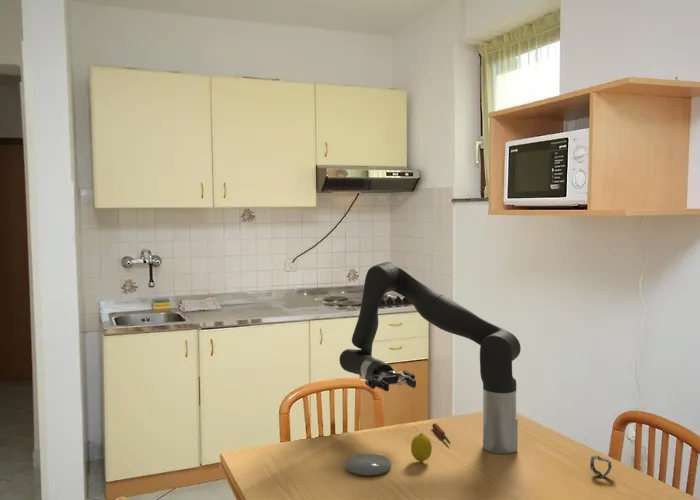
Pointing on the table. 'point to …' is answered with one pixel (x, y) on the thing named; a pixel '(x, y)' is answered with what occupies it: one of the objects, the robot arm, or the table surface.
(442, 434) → the kitchen knife
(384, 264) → the robot arm
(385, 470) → the dish
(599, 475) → the wristwatch
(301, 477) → the table surface
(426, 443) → the lemon
